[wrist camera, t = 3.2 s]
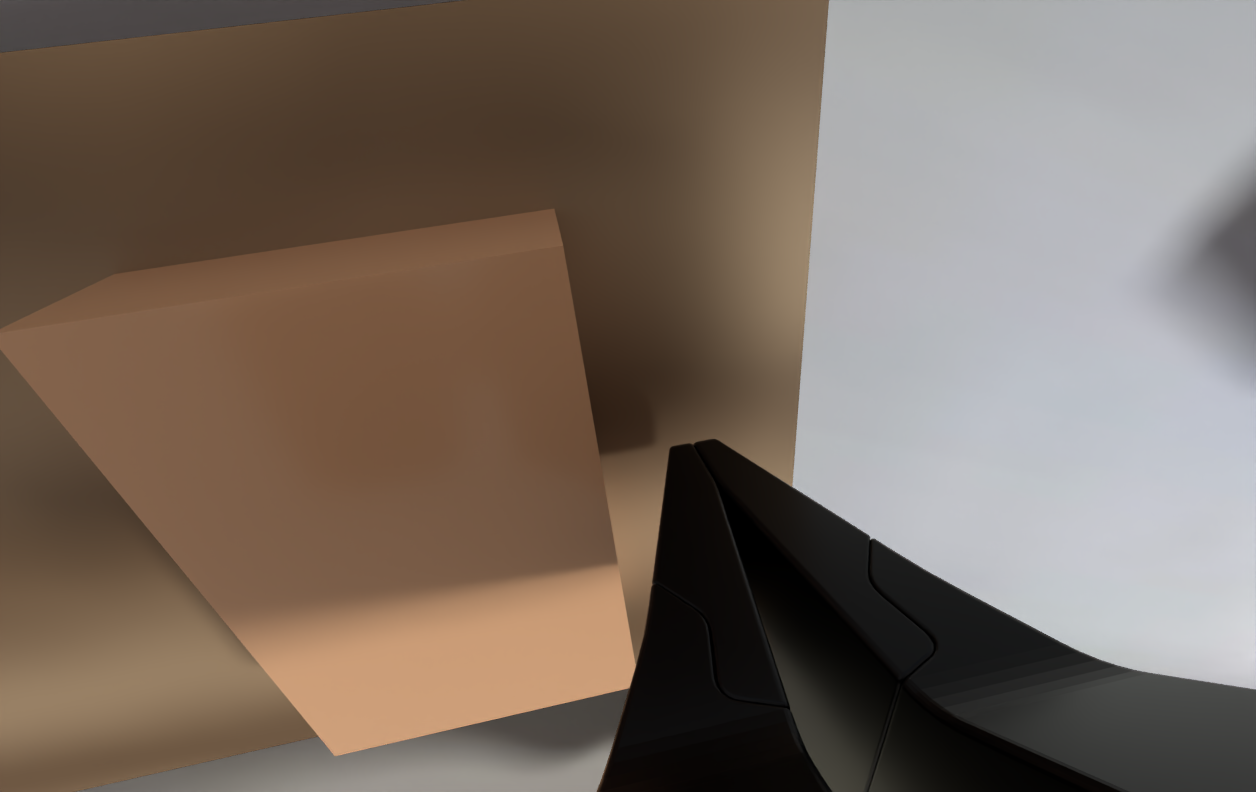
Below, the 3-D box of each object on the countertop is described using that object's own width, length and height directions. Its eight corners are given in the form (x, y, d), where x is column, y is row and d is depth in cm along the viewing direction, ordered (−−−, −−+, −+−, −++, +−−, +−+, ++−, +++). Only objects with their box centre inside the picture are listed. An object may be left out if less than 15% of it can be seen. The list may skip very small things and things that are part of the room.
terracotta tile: (623, 603, 12) (638, 685, 11) (361, 659, 12) (335, 756, 10) (554, 207, 8) (562, 245, 6) (114, 274, 7) (-12, 334, 5)
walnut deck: (731, 523, 17) (781, 631, 14) (10, 673, 16) (-132, 838, 12) (728, -2, 10) (832, -42, 7) (-643, 159, 8) (-1464, 218, 5)
